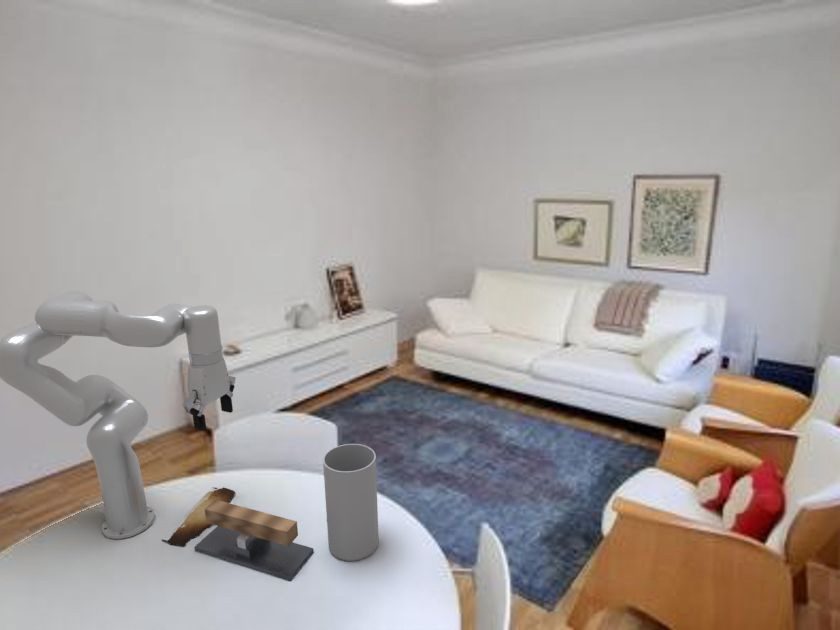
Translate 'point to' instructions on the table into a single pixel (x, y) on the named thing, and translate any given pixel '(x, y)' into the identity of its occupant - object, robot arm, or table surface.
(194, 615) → the table surface
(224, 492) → the parchment
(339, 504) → the cylinder vase
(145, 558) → the table surface
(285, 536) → the walnut bar
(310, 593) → the table surface
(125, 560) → the table surface
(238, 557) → the stand
